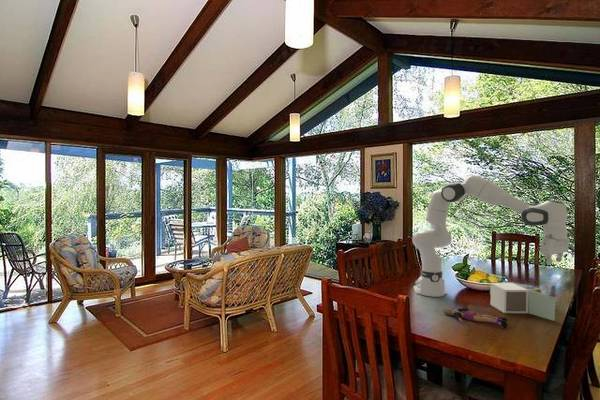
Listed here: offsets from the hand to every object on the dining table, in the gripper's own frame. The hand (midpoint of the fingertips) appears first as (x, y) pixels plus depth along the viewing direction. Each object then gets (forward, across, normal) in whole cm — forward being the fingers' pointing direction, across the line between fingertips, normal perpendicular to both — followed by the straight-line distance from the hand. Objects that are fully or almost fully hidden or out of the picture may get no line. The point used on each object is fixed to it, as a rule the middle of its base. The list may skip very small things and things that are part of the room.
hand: (554, 262), depth 167 cm
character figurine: (+29, -32, +20) cm, 48 cm away
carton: (+28, -1, +20) cm, 35 cm away
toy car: (+29, +16, +25) cm, 41 cm away
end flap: (+28, 0, +5) cm, 28 cm away
